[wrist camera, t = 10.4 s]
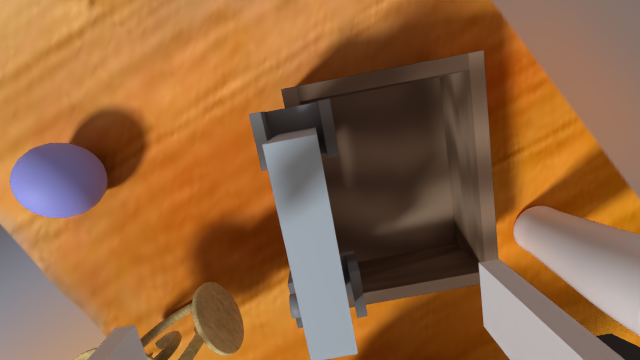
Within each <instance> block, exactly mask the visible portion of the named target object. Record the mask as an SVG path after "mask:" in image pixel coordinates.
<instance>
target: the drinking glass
mask: <svg viewBox="0 0 640 360" xmlns="http://www.w3.org/2000/svg"><path fill="white" fill-rule="evenodd" d="M513 235H514V238H515V240H516V242H517V244H518V245H519V246H520V247H521V248H523V249H524V250H526V251H527V252H529V253H530V254H532V255H533V256H534V257H536V258H537V259H538V260H539V261H541V262H542V263H543V264H544V265H546V266H547V267H548V268H549V269H550V270H552V271H553V272H554V273H555V274H557V275H558V276H559V277H560V278H562V279H563V280H564V281H565V282H566V283H568V284H569V285H570V286H571V287H573V288H574V289H575V290H576V291H577V292H579V293H580V294H581V295H582V296H584V297H585V298H586V299H587V300H588V301H590V302H591V303H592V304H594V305H595V306H596V307H597V308H599V309H600V310H601V311H603V312H604V313H606V314H607V315H608V316H610V317H611V318H613V319H614V320H615V321H617V322H618V323H620V324H621V325H623V326H624V327H626V328H627V329H629V330H630V331H632V332H634V333H635V334H637V335H638V336H640V234H637V233H633V232H630V231H626V230H623V229H619V228H616V227H612V226H609V225H605V224H602V223H598V222H595V221H591V220H588V219H585V218H581V217H578V216H574V215H571V214H568V213H564V212H561V211H559V210H556V209H554V208H551V207H548V206H534V207H531V208H529V209H527V210H525V211H524V212H522V213H521V214H520V215H519V216H518V218H517V219H516V221H515V224H514V227H513Z"/></svg>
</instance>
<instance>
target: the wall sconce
mask: <svg viewBox="0 0 640 360" xmlns="http://www.w3.org/2000/svg"><path fill="white" fill-rule="evenodd" d="M191 312H192V314H193V319H194V323H195V333H196V335H195V336H194V338H193V339H192V341H191V342H190V344H189V345H188V347H187V348H186V350H185V351H184V352H183V354H182V355H181V357H180V358H179V359H178V360H193V358H194V357H195V355H196V354H197V352H198V351H199V349H200V347H201V346H202V344H203V342H204V343H205V344H206V345H207V346H208V347H209V348H210V349H211V350H212V351H214V352H215V353H217V354H220V355H230V354H233V353H235V352H236V351H237V350H238V349H239V348H240V346H241V344H242V341H243V336H244V328H243V321H242V317H241V314H240V311H239V308H238V306H237V304H236V302H235V301H234V299H233V297H232V296H231V295H230V293H229V292H228V291H227V290H226V289H225V288H224V287H222V286H221V285H219V284H217V283H215V282H206V283H204V284H202V285H201V286H200V287H198V289H197V290H196V292H195V294H194V296H193V300H192V303H190V304H188V305H186V306H184V307H183V308H181V309H179V310H178V311H176V312H175V313H173V314H172V315H170V316H169V317H167V318H166V319H164V320H163V321H162V322H160V323H159V324H158V325H157V326H155V327H154V328H153V329H152V330H150V331H149V332H148V333H147V334H146V335H145V336H143V337H142V338H141V339H140V340H141V343H142V346H143V348H144V347H145V346H146V345H147V344H148V343H150V342H151V341H152V340H153V339H154V338H155V337H156V336H157V335H159V334H160V333H161V332H162V331H164V330H165V329H166V328H168V327H169V326H170V325H172V324H173V323H175V322H176V321H178V320H179V319H181V318H182V317H184V316H186V315H187V314H189V313H191ZM180 342H181V334H180V332H178V331H172V332H170V333H168V334H166V335H165V336H163V337H162V338H160V339H159V340H158V341H157V342H156V343H155V344H156V346H157V347H158V348H160V349H163V348H164V347H165V348H164V349H163V350H162V351H161V352H160V353H159V354H158V355H157V356H156V357H155V358H153V357H151V356H152V354H153V353H151V354H149V355H148V354H146V353H145V354H146V357H147V359H148V360H168V359H169V358H170V357H171V355H172V354H173V353H174V352H175V350H176V349H177V347H178V346H179V344H180ZM96 349H97V348H94V349H91V350H88V351H86V352H84V353H82V354H81V355H79V356H78V357H76V358H75V359H74V360H87V359H88V358H89V357H90V356H91V355H92V354H93V353H94V351H95V350H96Z"/></svg>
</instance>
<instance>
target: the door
mask: <svg viewBox="0 0 640 360" xmlns="http://www.w3.org/2000/svg"><path fill="white" fill-rule="evenodd" d="M262 146H263V150H264V155H265V159H266V164H267V168H268V173H269V177H270V181H271V186H272V190H273V195H274V199H275V204H276V208H277V212H278V217H279V221H280V226H281V230H282V235H283V239H284V243H285V248H286V252H287V257H288V261H289V266H290V270H291V274H292V279H293V283H294V288H295V292H296V293H294V294H290V297H289V301H290V310H291V315H292V318H293V319H294V318H300V317H301V319H302V323H303V328H304V332H305V336H306V341H307V345H308V350H309V354H310V359H311V360H325V359H331V358H337V357H342V356H348V355H354V354H358V352H357V346H356V341H355V336H354V330H353V325H352V320H351V314H350V309H349V303H348V298H347V293H346V287H345V282H344V277H343V271H342V266H341V260H340V255H339V250H338V244H337V239H336V234H335V228H334V223H333V218H332V212H331V207H330V202H329V196H328V191H327V186H326V180H325V175H324V170H323V164H322V159H321V154H320V148H319V143H318V138H317V132H316V127H315V128H309V129H304V130H299V131H294V132H288V133H283V134H278V135H277V136H275V137H273V138H272V139H270V140H269V141H267V142H266V143H264V144H263V145H262Z"/></svg>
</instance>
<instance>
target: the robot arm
mask: <svg viewBox="0 0 640 360" xmlns="http://www.w3.org/2000/svg"><path fill="white" fill-rule="evenodd" d="M479 273H480V286H481V298H482V310H483V322H484V327H485V328H486V330H487V331H488V332H489V334H490V335H491V336H492V337H493V339H494V340H495V341H496V342H497V344H498V345H499V346H500V347H501V349H502V350H503V351H504V353H505V354H506V355H507V356H508V358H509V359H510V360H640V348H639V347H638V346H636V345H634V344H632V343H630V342H628V341H626V340H624V339H621V338H619V337H617V336H615V335H613V334H605V335H600V336H595V335H593V334H592V333H591V332H590V331H588V330H587V329H586V328H585V327H583V326H582V325H581V324H580V323H578V322H577V321H576V320H575V319H573V318H572V317H571V316H570V315H568V314H567V313H566V312H565V311H563V310H562V309H561V308H560V307H558V306H557V305H556V304H555V303H553V302H552V301H551V300H550V299H548V298H547V297H546V296H545V295H543V294H542V293H541V292H540V291H538V290H537V289H536V288H535V287H533V286H532V285H531V284H530V283H528V282H527V281H526V280H525V279H523V278H522V277H521V276H520V275H518V274H517V273H516V272H515V271H513V270H512V269H511V268H510V267H508V266H507V265H506V264H505V263H503V262H502V261H501V260H500V259H496V260H491V261H485V262H480V263H479ZM87 360H148V359H147V357H146V354H145V351H144V348H143V346H142V343H141V340H140V337H139V334H138V332H137V329H136V326H135V325H131V326H125V327H120V328H115V329H114V330H113V331H112V333H111V334H110V335H109V336H108V337H107V338H106V339H105V340H104V341H103V343H102V344H101V345H100V346H99V347H98V348H97V349H96V350H95V351H94V353H93V354H92V355H91V356H90V357H89V358H88V359H87Z"/></svg>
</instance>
